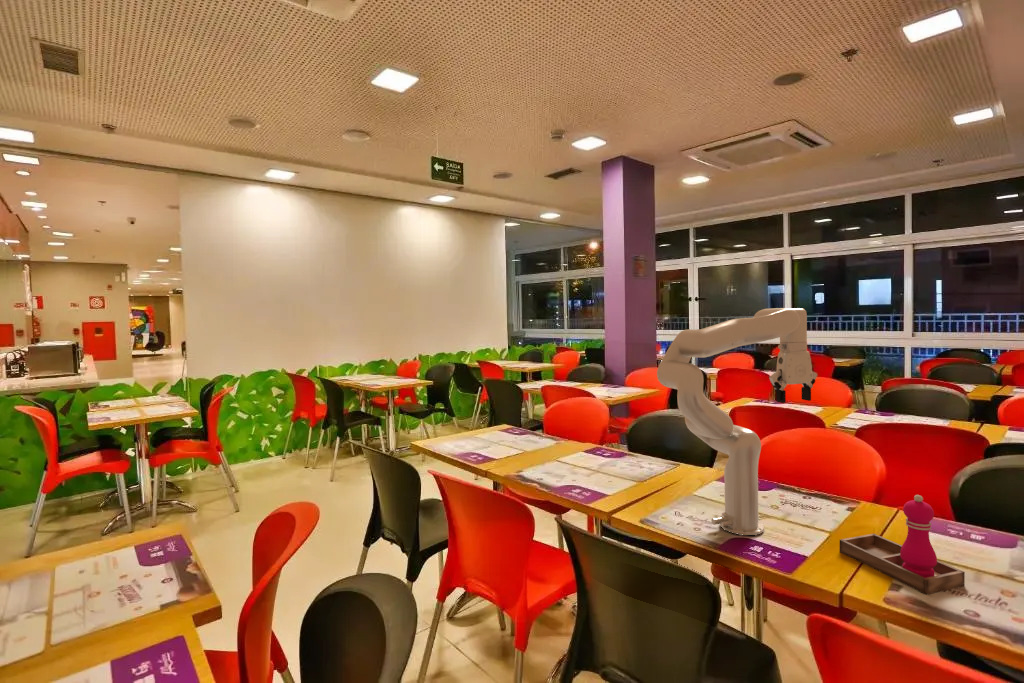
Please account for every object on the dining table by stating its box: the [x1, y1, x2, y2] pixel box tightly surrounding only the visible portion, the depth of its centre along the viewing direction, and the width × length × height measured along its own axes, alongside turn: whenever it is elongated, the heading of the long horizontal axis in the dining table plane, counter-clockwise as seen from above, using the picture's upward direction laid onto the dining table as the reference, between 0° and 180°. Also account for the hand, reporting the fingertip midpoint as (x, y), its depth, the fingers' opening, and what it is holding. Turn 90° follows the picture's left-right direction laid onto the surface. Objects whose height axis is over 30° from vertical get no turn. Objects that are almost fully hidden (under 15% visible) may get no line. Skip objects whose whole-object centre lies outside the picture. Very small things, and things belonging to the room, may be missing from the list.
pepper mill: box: [900, 494, 938, 578], centre depth 129 cm, size 7×7×20 cm
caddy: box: [839, 533, 966, 596], centre depth 135 cm, size 12×23×4 cm, turn 15°
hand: (793, 401), depth 166 cm, fingers open, 9 cm apart
